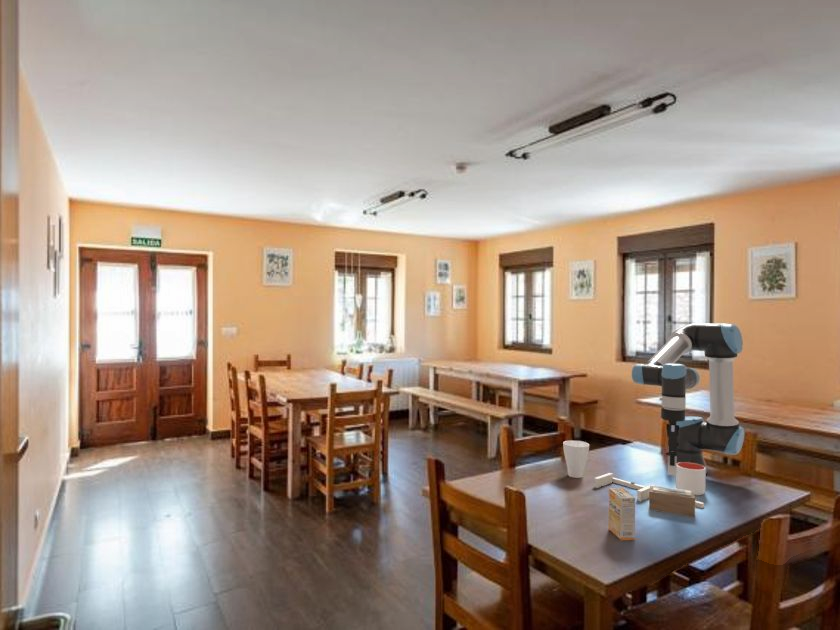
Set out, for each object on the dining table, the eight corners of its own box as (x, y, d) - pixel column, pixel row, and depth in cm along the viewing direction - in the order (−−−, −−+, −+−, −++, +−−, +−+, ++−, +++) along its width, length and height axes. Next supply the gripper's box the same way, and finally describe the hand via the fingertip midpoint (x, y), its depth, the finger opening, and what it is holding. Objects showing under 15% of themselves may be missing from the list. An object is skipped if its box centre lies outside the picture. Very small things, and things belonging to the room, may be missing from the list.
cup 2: (709, 497, 191) (709, 470, 191) (680, 495, 193) (680, 468, 193) (700, 488, 201) (700, 463, 201) (672, 486, 203) (672, 461, 203)
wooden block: (649, 503, 185) (650, 483, 185) (693, 510, 179) (694, 489, 179) (649, 510, 179) (649, 489, 178) (694, 517, 172) (695, 496, 172)
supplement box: (607, 529, 162) (608, 487, 162) (622, 528, 162) (622, 487, 162) (619, 541, 154) (620, 497, 153) (635, 540, 154) (636, 497, 154)
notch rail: (610, 480, 209) (610, 471, 209) (703, 507, 181) (704, 497, 181) (593, 486, 201) (593, 477, 201) (688, 515, 173) (688, 505, 173)
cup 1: (591, 474, 216) (592, 442, 216) (585, 481, 207) (585, 448, 207) (566, 470, 222) (567, 439, 222) (559, 476, 213) (559, 444, 213)
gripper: (661, 402, 191) (660, 459, 191) (660, 413, 169) (659, 477, 169) (684, 404, 188) (683, 462, 188) (686, 415, 165) (684, 481, 166)
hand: (671, 469), depth 178 cm, fingers open, 13 cm apart
